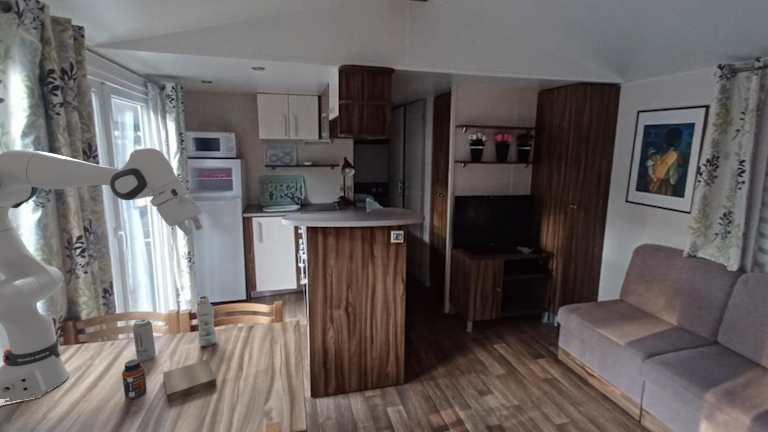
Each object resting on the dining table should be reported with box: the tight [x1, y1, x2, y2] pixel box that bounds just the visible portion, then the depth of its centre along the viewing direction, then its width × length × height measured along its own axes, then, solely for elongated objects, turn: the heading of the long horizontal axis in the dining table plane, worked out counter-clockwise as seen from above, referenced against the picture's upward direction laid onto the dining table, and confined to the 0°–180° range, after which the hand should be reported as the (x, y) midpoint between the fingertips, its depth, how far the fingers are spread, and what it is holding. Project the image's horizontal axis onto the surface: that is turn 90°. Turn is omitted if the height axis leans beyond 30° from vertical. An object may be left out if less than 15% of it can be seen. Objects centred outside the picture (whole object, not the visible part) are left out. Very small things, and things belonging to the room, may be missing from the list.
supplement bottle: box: [121, 358, 148, 400], centre depth 119 cm, size 6×6×11 cm
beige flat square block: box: [162, 359, 217, 404], centre depth 125 cm, size 14×14×3 cm
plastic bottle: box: [195, 295, 218, 347], centre depth 149 cm, size 6×7×20 cm
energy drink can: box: [132, 317, 156, 363], centre depth 140 cm, size 6×6×15 cm
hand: (195, 232), depth 121 cm, fingers open, 8 cm apart
